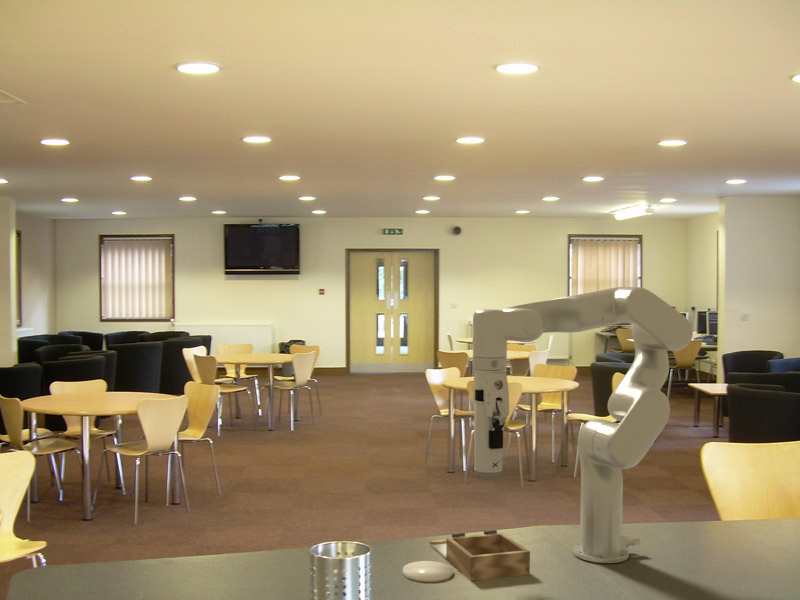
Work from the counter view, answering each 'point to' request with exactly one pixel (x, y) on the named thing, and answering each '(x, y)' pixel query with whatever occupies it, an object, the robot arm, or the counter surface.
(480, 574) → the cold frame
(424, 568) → the saucer
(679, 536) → the counter surface
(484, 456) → the travel mug
